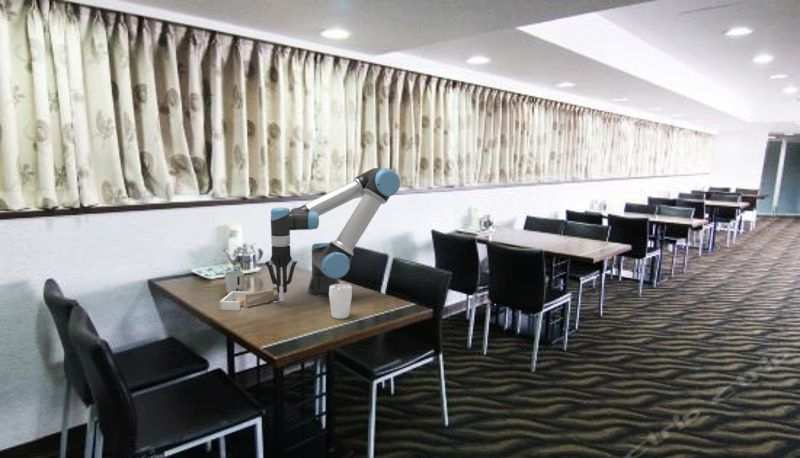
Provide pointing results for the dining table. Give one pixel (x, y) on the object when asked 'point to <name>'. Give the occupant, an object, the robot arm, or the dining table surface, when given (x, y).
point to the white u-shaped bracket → (228, 301)
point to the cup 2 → (340, 300)
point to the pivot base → (275, 301)
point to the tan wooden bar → (262, 296)
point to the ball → (240, 301)
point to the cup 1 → (234, 281)
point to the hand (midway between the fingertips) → (282, 299)
